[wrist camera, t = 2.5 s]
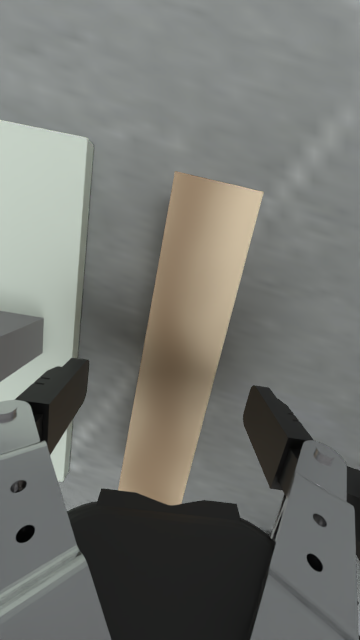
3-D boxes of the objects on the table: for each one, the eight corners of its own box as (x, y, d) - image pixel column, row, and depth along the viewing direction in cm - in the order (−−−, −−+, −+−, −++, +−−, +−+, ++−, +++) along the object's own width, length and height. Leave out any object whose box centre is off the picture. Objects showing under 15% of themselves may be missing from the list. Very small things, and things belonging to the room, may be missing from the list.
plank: (236, 213, 15) (263, 191, 10) (175, 462, 20) (175, 527, 15) (175, 199, 15) (174, 171, 10) (128, 455, 20) (113, 518, 15)
